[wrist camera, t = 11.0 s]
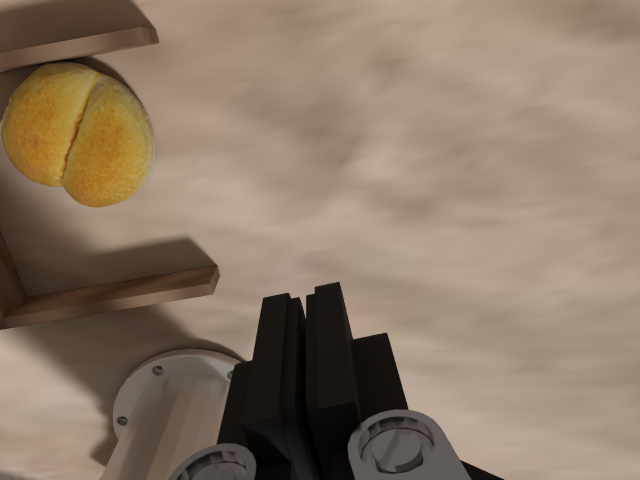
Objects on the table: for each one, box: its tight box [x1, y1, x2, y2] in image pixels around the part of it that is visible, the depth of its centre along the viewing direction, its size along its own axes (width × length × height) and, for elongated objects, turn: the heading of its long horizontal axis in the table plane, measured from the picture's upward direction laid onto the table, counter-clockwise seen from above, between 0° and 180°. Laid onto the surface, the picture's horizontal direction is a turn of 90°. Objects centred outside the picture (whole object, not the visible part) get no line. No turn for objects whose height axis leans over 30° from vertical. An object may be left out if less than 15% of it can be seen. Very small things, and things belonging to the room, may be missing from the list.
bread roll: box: [0, 61, 155, 207], centre depth 31 cm, size 8×9×4 cm
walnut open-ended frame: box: [0, 27, 220, 330], centre depth 33 cm, size 15×17×3 cm
